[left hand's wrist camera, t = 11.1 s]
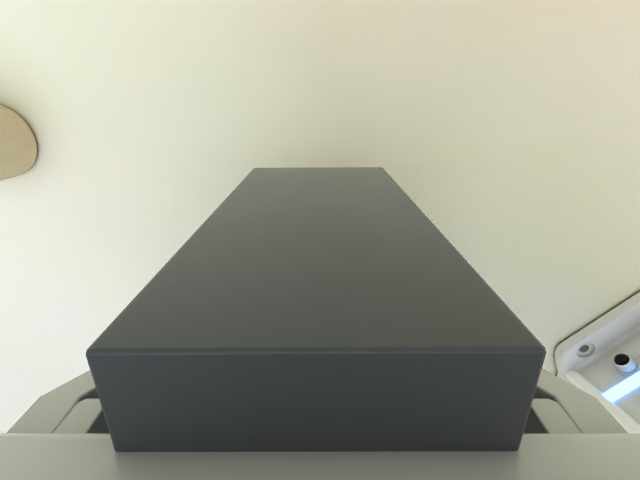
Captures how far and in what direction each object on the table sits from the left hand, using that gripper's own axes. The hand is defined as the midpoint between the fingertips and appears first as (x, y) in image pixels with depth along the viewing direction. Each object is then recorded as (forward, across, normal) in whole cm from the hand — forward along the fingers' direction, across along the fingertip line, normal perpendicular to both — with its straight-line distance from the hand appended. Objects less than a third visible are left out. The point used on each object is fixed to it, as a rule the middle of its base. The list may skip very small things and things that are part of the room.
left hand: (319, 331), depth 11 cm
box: (+7, 0, -10) cm, 13 cm away
